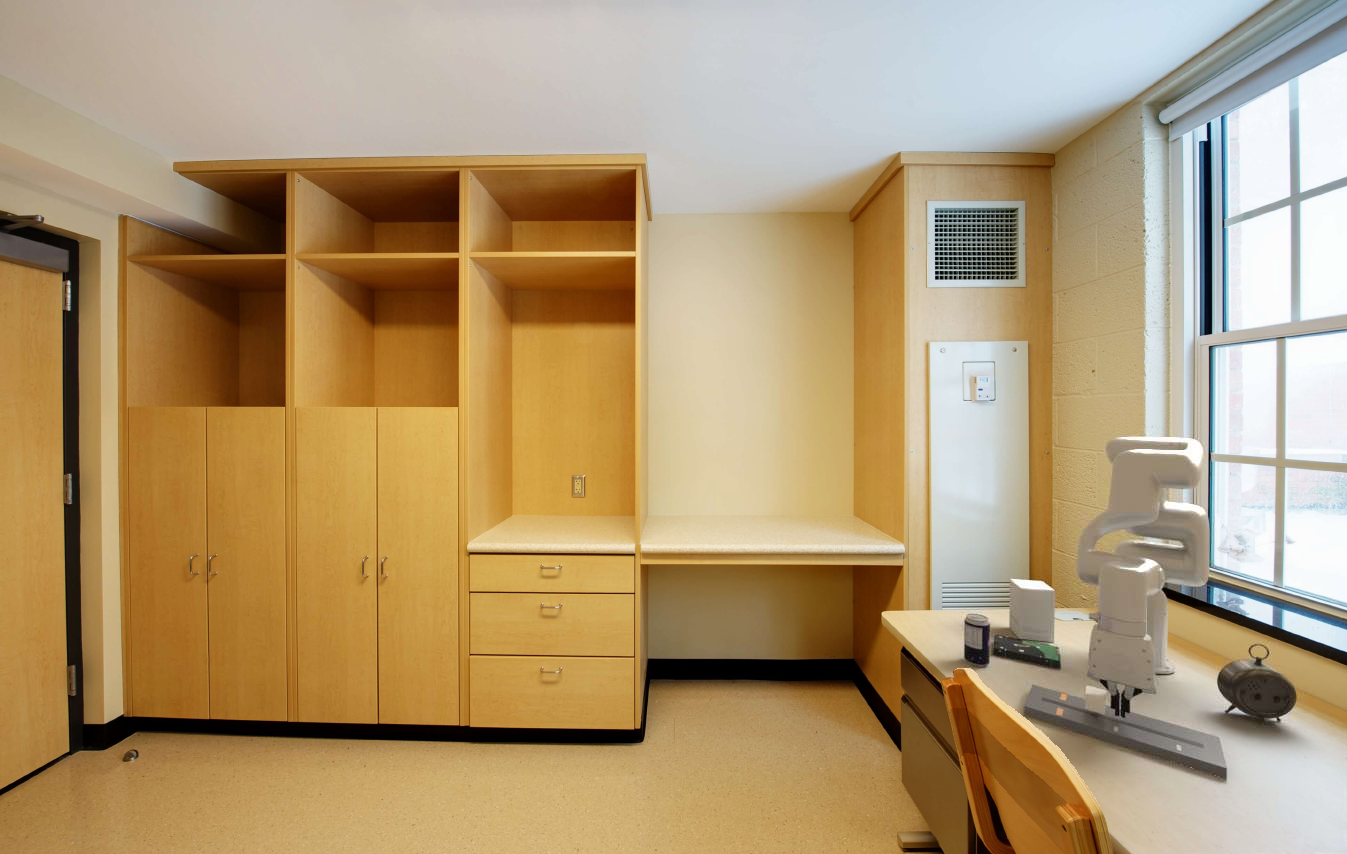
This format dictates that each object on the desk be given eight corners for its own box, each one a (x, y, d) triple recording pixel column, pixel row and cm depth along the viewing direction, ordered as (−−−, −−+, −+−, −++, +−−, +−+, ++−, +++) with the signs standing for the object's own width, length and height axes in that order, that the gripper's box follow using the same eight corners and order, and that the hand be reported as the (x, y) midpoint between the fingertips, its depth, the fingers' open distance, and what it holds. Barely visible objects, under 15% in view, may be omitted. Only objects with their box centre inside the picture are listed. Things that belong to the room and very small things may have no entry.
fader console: (1032, 692, 121) (1032, 684, 121) (1218, 747, 101) (1218, 736, 101) (1023, 715, 112) (1023, 705, 112) (1226, 779, 92) (1226, 768, 92)
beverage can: (993, 669, 132) (993, 622, 132) (968, 667, 134) (968, 620, 133) (984, 658, 138) (984, 613, 138) (960, 657, 139) (961, 612, 139)
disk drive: (992, 657, 140) (1061, 671, 132) (992, 647, 140) (1061, 660, 132) (993, 643, 149) (1058, 655, 141) (993, 633, 149) (1058, 645, 141)
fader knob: (1086, 705, 112) (1086, 685, 111) (1105, 710, 109) (1106, 690, 109) (1084, 714, 108) (1085, 693, 108) (1104, 720, 106) (1105, 699, 106)
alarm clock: (1281, 718, 111) (1283, 642, 110) (1301, 732, 106) (1303, 653, 105) (1214, 708, 114) (1216, 635, 114) (1231, 722, 109) (1233, 645, 109)
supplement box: (1055, 643, 147) (1056, 590, 147) (1019, 639, 150) (1019, 587, 149) (1042, 630, 156) (1043, 580, 156) (1008, 627, 158) (1009, 578, 158)
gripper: (1073, 620, 108) (1072, 708, 108) (1173, 641, 98) (1171, 737, 99) (1076, 610, 114) (1075, 693, 114) (1171, 628, 104) (1169, 720, 104)
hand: (1120, 713), depth 106 cm, fingers closed
